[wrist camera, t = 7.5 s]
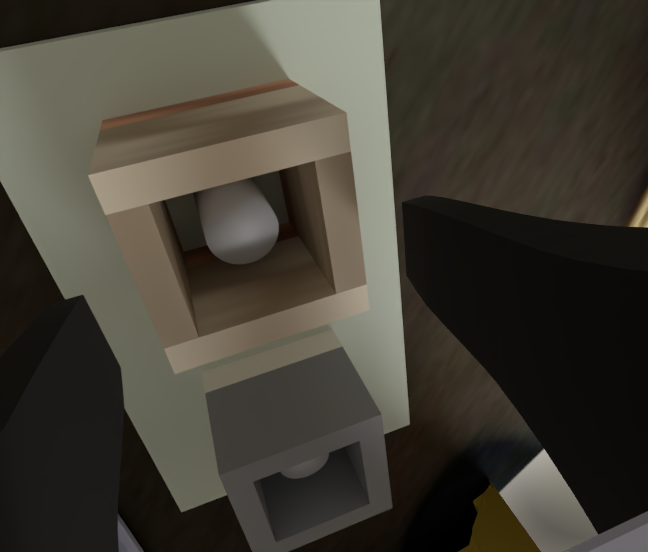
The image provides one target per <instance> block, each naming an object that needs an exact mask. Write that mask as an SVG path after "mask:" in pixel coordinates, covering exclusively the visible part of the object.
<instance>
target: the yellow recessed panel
mask: <svg viewBox="0 0 648 552" xmlns="http://www.w3.org/2000/svg"><path fill="white" fill-rule="evenodd" d="M489 482H490V480H489ZM473 503H474V506H475V508H476V511H477V513H478V514H477V517H476V519H475V520H474V521H473V522H472V524H471V525H470V526H469V528H468V529H467V530H466V532H465V533H464V535H463V536H462V537H461V539H460V540H459V542H458V543H457V544H456V546H455V548H454V549H453V550H452V552H541V551H540V550H539V548H538V547H537V546H536V544H535V543H534V541H533V540H532V539H531V537H530V536H529V534H528V533H527V532H526V530H525V529H524V528H523V526H522V525H521V523H520V522H519V521H518V519H517V518H516V516H515V515H514V514H513V512H512V511H511V509H510V508H509V507H508V505H507V504H506V502H505V501H504V500H503V499H502V497H501V496H500V494H499V493H498V491H497V490H496V489H495V487H494V486H493V484H492V483H491V482H490V485H489V487H488V488H487V490H486V491H485V492H484V493H483V494H482V495H481V496H479V497H478V498H476V499H475V500H474V501H473Z"/></svg>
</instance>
